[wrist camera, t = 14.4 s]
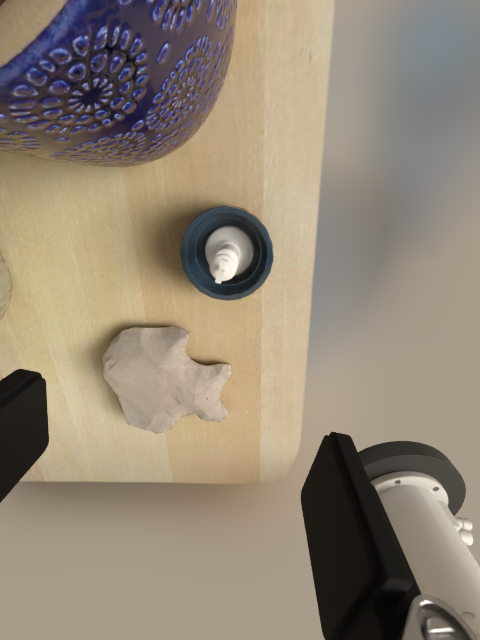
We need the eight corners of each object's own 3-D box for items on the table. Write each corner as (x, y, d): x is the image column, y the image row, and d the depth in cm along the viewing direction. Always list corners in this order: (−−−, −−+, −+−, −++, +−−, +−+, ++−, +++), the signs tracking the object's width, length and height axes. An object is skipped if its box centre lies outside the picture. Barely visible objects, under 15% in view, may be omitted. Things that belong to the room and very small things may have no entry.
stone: (227, 451, 34) (97, 442, 33) (227, 432, 37) (110, 423, 36) (241, 336, 30) (97, 322, 29) (239, 327, 34) (111, 314, 33)
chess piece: (261, 234, 28) (267, 250, 18) (245, 281, 29) (243, 317, 20) (213, 218, 27) (194, 225, 18) (199, 266, 29) (176, 296, 20)
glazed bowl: (278, 216, 27) (283, 218, 24) (260, 295, 31) (261, 307, 27) (195, 197, 27) (186, 196, 23) (184, 280, 30) (175, 290, 26)
